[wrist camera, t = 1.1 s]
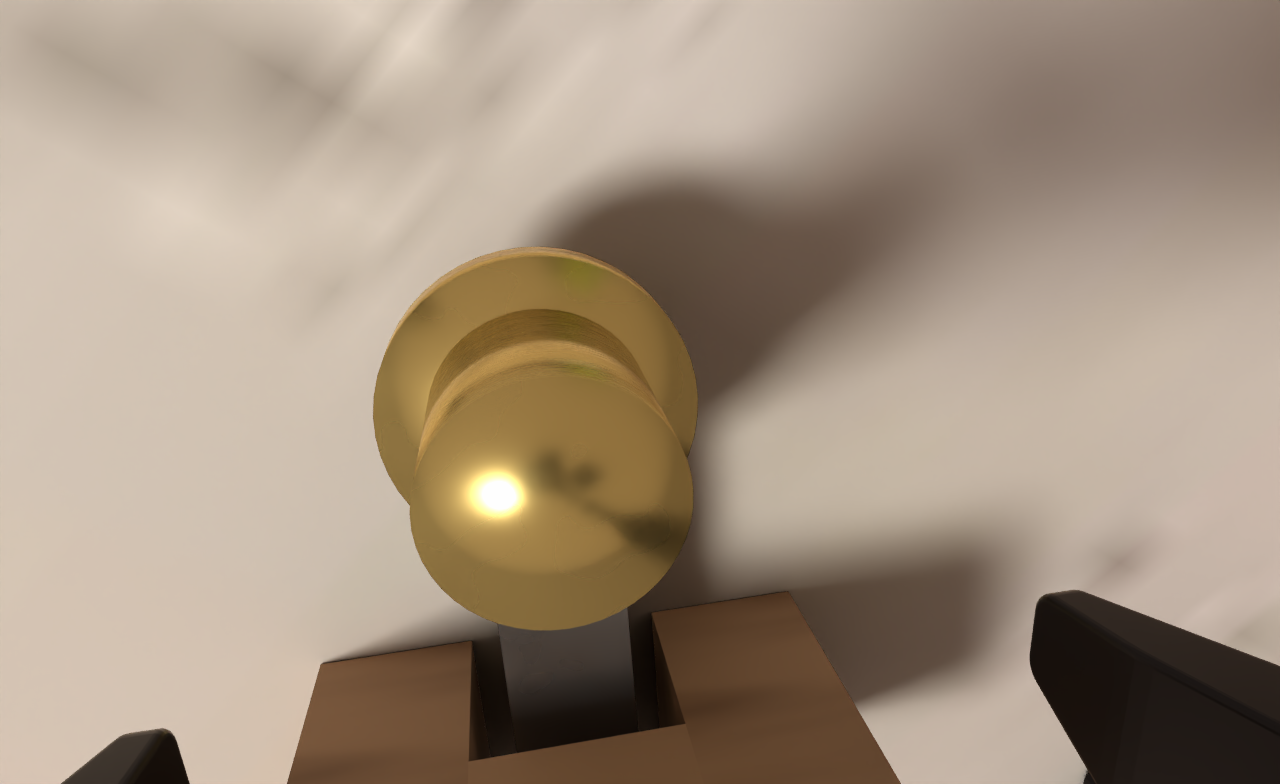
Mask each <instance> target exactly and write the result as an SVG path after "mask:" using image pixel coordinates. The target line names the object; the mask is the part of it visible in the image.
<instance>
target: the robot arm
mask: <svg viewBox="0 0 1280 784" xmlns="http://www.w3.org/2000/svg"><path fill="white" fill-rule="evenodd" d="M1030 666H1031V670H1032V673H1033V675H1034V678H1035V680H1036V682H1037V684H1038V685H1039V687H1040V689H1041V691H1042V692H1043V694H1044V696H1045V697H1046V699H1047V701H1048V703H1049V704H1050V706H1051V708H1052V709H1053V711H1054V713H1055V715H1056V716H1057V718H1058V720H1059V721H1060V723H1061V725H1062V727H1063V728H1064V730H1065V732H1066V733H1067V735H1068V737H1069V739H1070V740H1071V742H1072V744H1073V746H1074V747H1075V749H1076V751H1077V752H1078V754H1079V756H1080V758H1081V759H1082V761H1083V763H1084V764H1085V766H1086V768H1087V770H1088V771H1089V774H1088V775H1087V776H1086V777H1085V780H1084V783H1083V784H1280V666H1278V665H1276V664H1273V663H1271V662H1268V661H1265V660H1263V659H1260V658H1257V657H1255V656H1252V655H1249V654H1247V653H1244V652H1242V651H1239V650H1236V649H1234V648H1231V647H1228V646H1226V645H1223V644H1220V643H1218V642H1215V641H1212V640H1210V639H1207V638H1205V637H1202V636H1199V635H1197V634H1194V633H1191V632H1189V631H1186V630H1183V629H1181V628H1178V627H1176V626H1173V625H1170V624H1168V623H1165V622H1162V621H1160V620H1157V619H1154V618H1152V617H1149V616H1147V615H1144V614H1141V613H1139V612H1136V611H1133V610H1131V609H1128V608H1125V607H1123V606H1120V605H1117V604H1115V603H1112V602H1110V601H1107V600H1104V599H1102V598H1099V597H1096V596H1094V595H1091V594H1088V593H1086V592H1083V591H1080V590H1069V591H1062V592H1056V593H1049V594H1045V595H1043V596H1042V597H1041V598H1040V599H1039V600H1038V602H1037V605H1036V610H1035V617H1034V625H1033V633H1032V640H1031V648H1030ZM61 784H190V783H189V780H188V777H187V774H186V770H185V767H184V764H183V760H182V757H181V754H180V751H179V747H178V744H177V741H176V739H175V737H174V735H173V734H172V732H171V731H169V730H167V729H164V728H161V729H154V730H147V731H141V732H134V733H129V734H125V735H122V736H120V737H119V738H117V739H116V740H115V741H113V742H112V743H111V744H110V745H108V746H107V747H106V748H105V749H103V750H102V751H101V752H100V753H98V754H97V755H96V756H95V757H93V758H92V759H91V760H90V761H88V762H87V763H86V764H85V765H84V766H82V767H81V768H80V769H79V770H77V771H76V772H75V773H74V774H72V775H71V776H70V777H69V778H67V779H66V780H65V781H64V782H62V783H61Z"/></svg>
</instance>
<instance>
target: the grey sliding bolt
mask: <svg viewBox="0 0 1280 784" xmlns="http://www.w3.org/2000/svg"><path fill="white" fill-rule="evenodd" d="M697 414H698V394H697V385H696V377H695V374H694V370H693V366H692V362H691V359H690V356H689V354H688V351H687V349H686V347H685V344H684V342H683V340H682V338H681V337H680V335H679V333H678V331H677V330H676V328H675V326H674V325H673V323H672V322H671V321H670V319H669V318H668V317H667V315H666V314H665V313H664V311H663V310H662V309H661V307H660V306H659V305H658V304H657V302H656V301H655V300H654V299H653V297H652V296H651V295H650V294H649V293H648V292H647V291H646V290H645V289H644V288H642V287H641V286H640V285H639V284H638V283H637V282H636V281H635V280H633V279H632V278H630V277H629V276H628V275H626V274H625V273H623V272H622V271H621V270H619V269H617V268H615V267H613V266H611V265H610V264H608V263H606V262H604V261H602V260H599V259H596V258H594V257H591V256H588V255H586V254H583V253H579V252H574V251H570V250H566V249H560V248H549V247H520V248H514V249H508V250H501V251H497V252H494V253H490V254H487V255H484V256H480V257H477V258H475V259H473V260H471V261H469V262H466V263H464V264H462V265H460V266H458V267H456V268H455V269H453V270H451V271H450V272H448V273H447V274H445V275H443V276H442V277H440V278H439V279H438V280H437V281H435V282H434V283H433V284H432V285H431V286H429V287H428V288H427V289H426V290H425V291H424V292H423V293H422V294H421V295H420V296H419V297H418V298H417V299H416V300H415V301H414V303H413V304H412V305H411V306H410V307H409V309H408V310H407V312H406V313H405V314H404V316H403V317H402V319H401V320H400V322H399V323H398V325H397V327H396V329H395V331H394V333H393V335H392V337H391V339H390V341H389V344H388V347H387V349H386V352H385V355H384V358H383V361H382V364H381V367H380V370H379V373H378V376H377V381H376V387H375V393H374V406H373V420H374V428H375V437H376V441H377V444H378V448H379V452H380V456H381V458H382V461H383V463H384V465H385V468H386V470H387V472H388V475H389V476H390V478H391V480H392V481H393V483H394V485H395V486H396V488H397V490H398V491H399V493H400V494H401V495H402V496H403V498H404V499H405V500H406V501H407V503H408V504H409V505H410V521H411V531H412V534H413V538H414V542H415V546H416V548H417V551H418V553H419V555H420V558H421V560H422V562H423V564H424V566H425V567H426V569H427V570H428V572H429V574H430V575H431V577H432V578H433V579H434V580H435V582H436V583H437V584H438V585H439V586H440V588H441V589H442V590H443V591H444V592H446V593H447V594H448V595H449V596H450V597H451V598H452V599H453V600H454V601H456V602H457V603H459V604H460V605H462V606H463V607H464V608H466V609H467V610H469V611H471V612H473V613H475V614H477V615H479V616H481V617H482V618H485V619H487V620H490V621H493V622H495V623H498V629H499V636H500V643H501V650H502V656H503V663H504V670H505V676H506V683H507V690H508V696H509V703H510V710H511V717H512V723H513V730H514V737H515V743H516V750H517V753H521V752H527V751H532V750H538V749H544V748H550V747H555V746H561V745H567V744H573V743H578V742H584V741H590V740H596V739H601V738H607V737H613V736H618V735H624V734H630V733H636V732H638V726H637V714H636V703H635V691H634V679H633V668H632V656H631V644H630V633H629V621H628V609H627V607H628V606H630V605H632V604H633V603H635V602H636V601H637V600H639V599H640V598H641V597H643V596H644V595H645V594H646V593H648V592H649V591H650V590H651V589H652V588H653V587H654V586H655V585H656V584H657V583H658V582H659V581H660V580H661V579H662V577H663V576H664V575H665V574H666V572H667V571H668V570H669V569H670V567H671V566H672V564H673V563H674V561H675V559H676V558H677V556H678V555H679V553H680V550H681V548H682V546H683V544H684V542H685V540H686V536H687V533H688V530H689V527H690V523H691V517H692V511H693V484H692V476H691V472H690V468H689V464H688V461H687V457H688V455H689V452H690V448H691V445H692V442H693V438H694V435H695V429H696V422H697Z"/></svg>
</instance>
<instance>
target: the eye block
mask: <svg viewBox="0 0 1280 784" xmlns="http://www.w3.org/2000/svg"><path fill="white" fill-rule="evenodd" d="M651 614H652V628H653V641H654V655H655V668H656V682H657V695H658V709H659V722H660V728H659V729H653V730H647V731H641V732H636V733H630V734H624V735H618V736H613V737H607V738H601V739H596V740H590V741H584V742H578V743H573V744H567V745H561V746H555V747H550V748H544V749H538V750H532V751H527V752H521V753H515V754H509V755H504V756H498V757H492V758H491V756H490V750H489V743H488V737H487V731H486V725H485V719H484V713H483V707H482V701H481V694H480V688H479V682H478V676H477V670H476V664H475V658H474V652H473V645H472V641H467V642H461V643H454V644H448V645H441V646H435V647H429V648H422V649H416V650H409V651H403V652H397V653H390V654H384V655H377V656H371V657H365V658H358V659H352V660H345V661H339V662H333V663H326V664H321V665H320V669H319V672H318V676H317V679H316V683H315V686H314V690H313V693H312V697H311V701H310V704H309V708H308V711H307V715H306V718H305V722H304V725H303V729H302V732H301V736H300V739H299V743H298V747H297V750H296V754H295V757H294V761H293V764H292V768H291V771H290V775H289V778H288V782H287V784H901V783H900V781H899V780H898V778H897V776H896V774H895V773H894V771H893V769H892V768H891V766H890V764H889V762H888V761H887V759H886V757H885V756H884V754H883V752H882V750H881V749H880V747H879V745H878V744H877V742H876V740H875V739H874V737H873V735H872V733H871V732H870V730H869V728H868V727H867V725H866V723H865V721H864V720H863V718H862V716H861V715H860V713H859V711H858V710H857V708H856V706H855V704H854V703H853V701H852V699H851V698H850V696H849V694H848V692H847V691H846V689H845V687H844V686H843V684H842V682H841V680H840V679H839V677H838V675H837V674H836V672H835V670H834V669H833V667H832V665H831V663H830V662H829V660H828V658H827V657H826V655H825V653H824V651H823V650H822V648H821V646H820V645H819V643H818V641H817V639H816V638H815V636H814V634H813V633H812V631H811V629H810V628H809V626H808V624H807V622H806V621H805V619H804V617H803V616H802V614H801V612H800V610H799V609H798V607H797V605H796V604H795V602H794V600H793V599H792V597H791V595H790V593H789V592H788V591H787V592H781V593H774V594H768V595H761V596H755V597H749V598H742V599H736V600H729V601H723V602H717V603H710V604H704V605H697V606H691V607H685V608H678V609H672V610H665V611H659V612H653V613H651Z"/></svg>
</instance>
